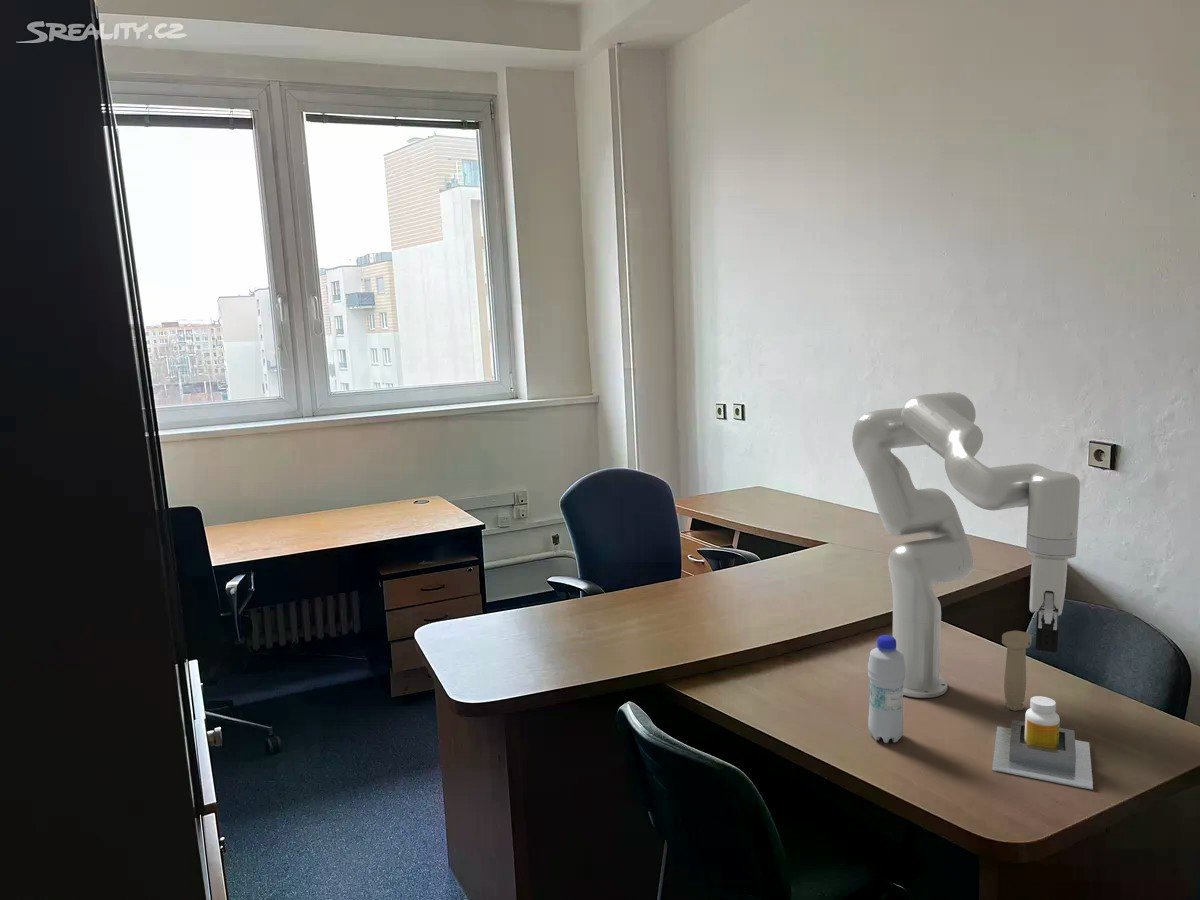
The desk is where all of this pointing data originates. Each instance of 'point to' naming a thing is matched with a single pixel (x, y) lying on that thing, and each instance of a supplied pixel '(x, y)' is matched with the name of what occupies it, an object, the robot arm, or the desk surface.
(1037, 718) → the supplement bottle
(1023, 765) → the socket
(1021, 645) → the handle
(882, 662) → the bottle
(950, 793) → the desk surface
